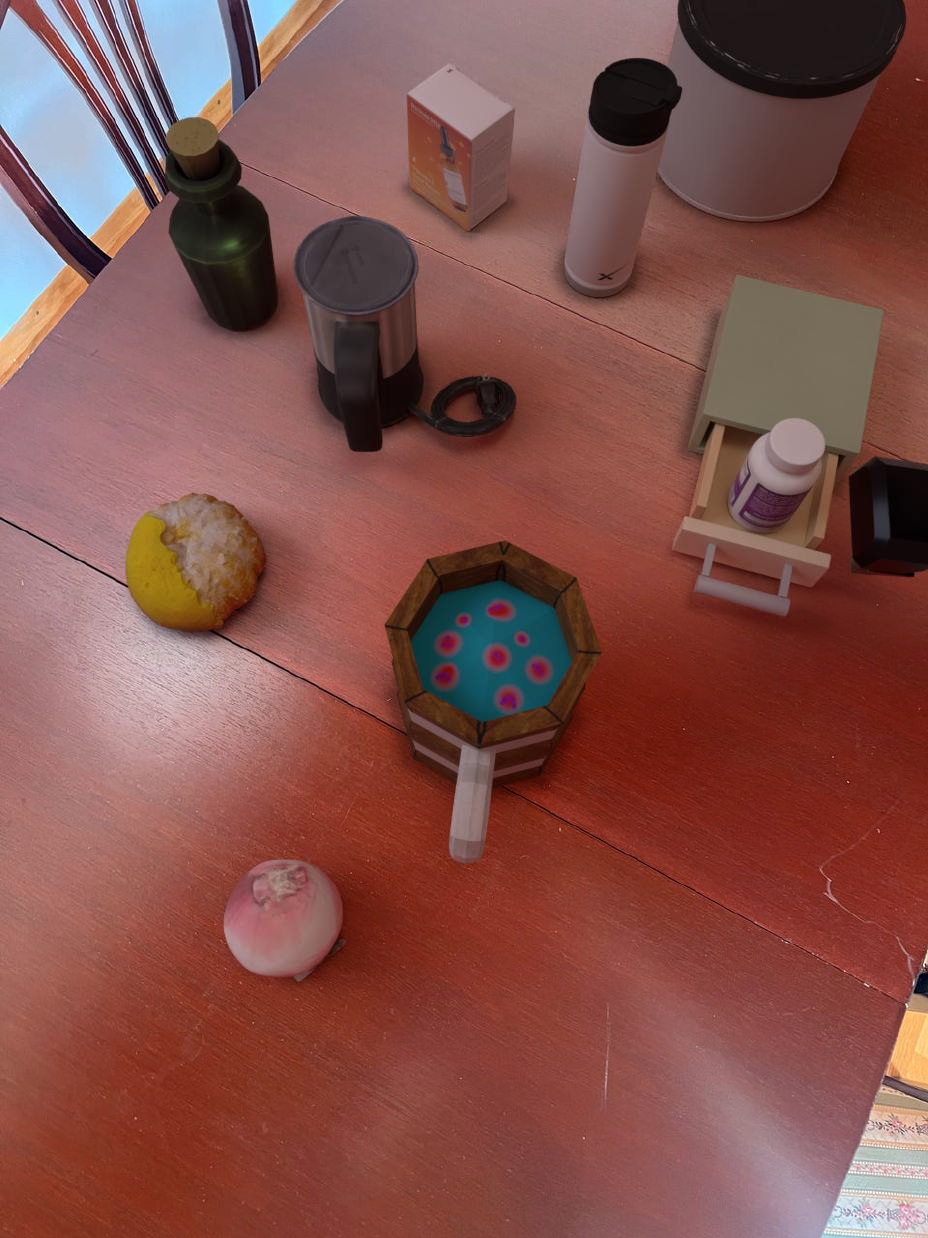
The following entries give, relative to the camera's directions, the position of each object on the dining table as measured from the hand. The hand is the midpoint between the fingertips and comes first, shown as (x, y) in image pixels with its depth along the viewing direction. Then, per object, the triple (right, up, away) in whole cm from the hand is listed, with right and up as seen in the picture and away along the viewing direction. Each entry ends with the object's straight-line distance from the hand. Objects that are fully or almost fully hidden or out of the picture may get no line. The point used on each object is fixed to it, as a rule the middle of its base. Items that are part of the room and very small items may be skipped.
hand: (915, 574), depth 63 cm
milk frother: (-34, +16, +20) cm, 43 cm away
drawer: (-7, +5, +14) cm, 17 cm away
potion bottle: (-50, +26, +23) cm, 61 cm away
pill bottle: (-6, +6, +14) cm, 16 cm away
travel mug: (-18, +29, +25) cm, 42 cm away
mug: (-29, -12, +8) cm, 33 cm away
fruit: (-51, +1, +13) cm, 52 cm away
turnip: (-42, -24, +4) cm, 49 cm away
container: (-3, +43, +31) cm, 53 cm away
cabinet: (-3, +16, +20) cm, 26 cm away
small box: (-31, +38, +28) cm, 56 cm away
